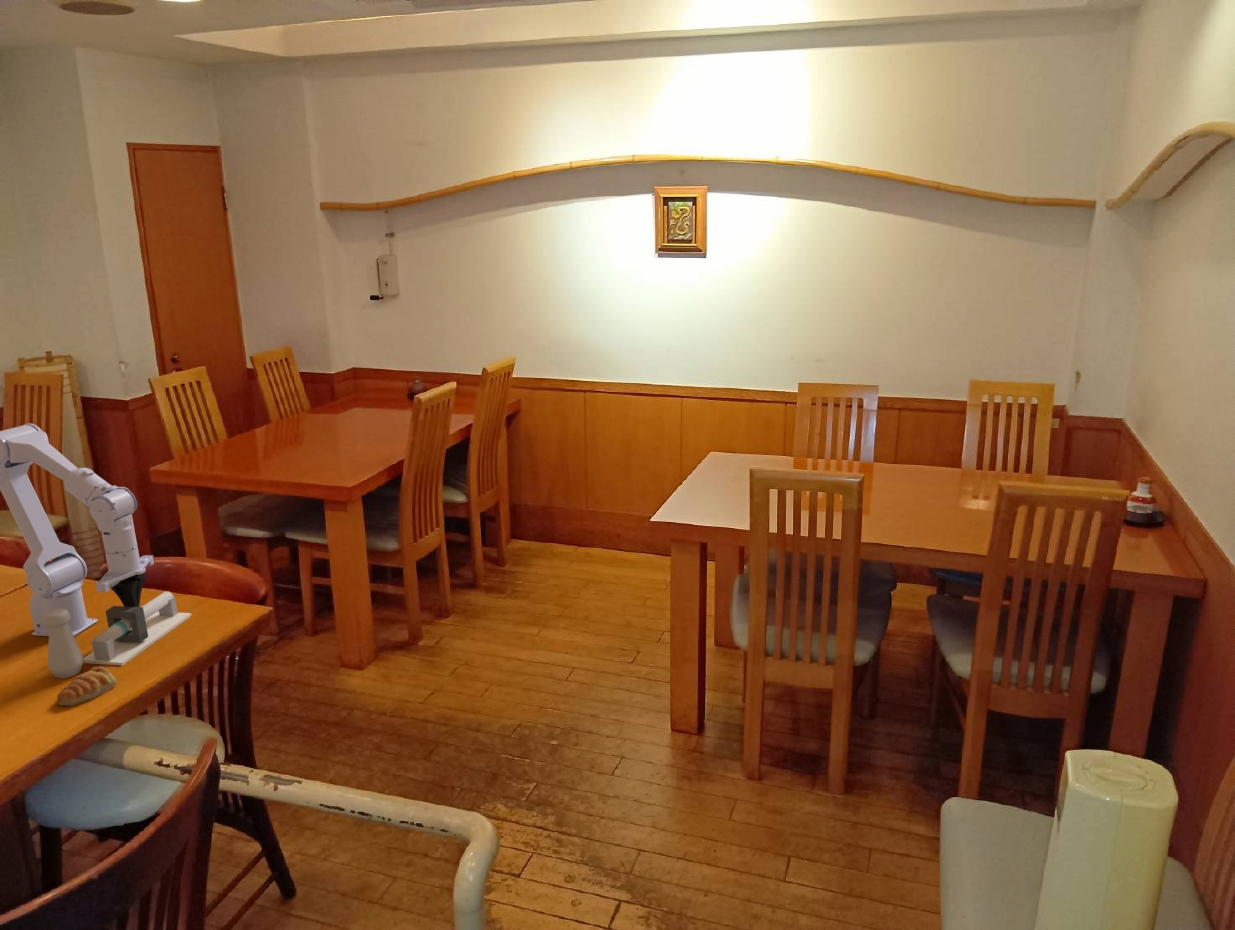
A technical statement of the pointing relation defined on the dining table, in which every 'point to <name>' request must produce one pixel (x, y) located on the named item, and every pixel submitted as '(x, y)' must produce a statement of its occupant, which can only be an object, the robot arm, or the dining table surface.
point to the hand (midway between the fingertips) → (132, 610)
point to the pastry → (86, 686)
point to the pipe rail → (158, 623)
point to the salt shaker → (62, 645)
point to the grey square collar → (135, 618)
